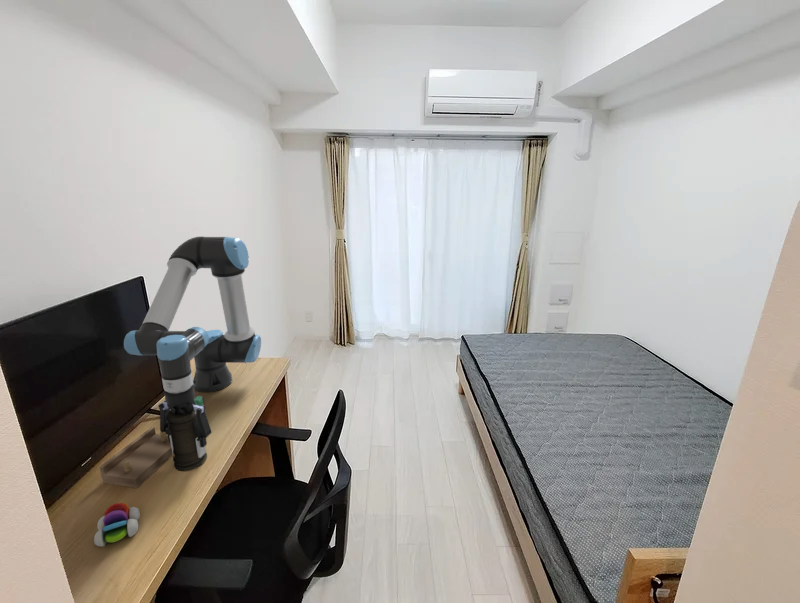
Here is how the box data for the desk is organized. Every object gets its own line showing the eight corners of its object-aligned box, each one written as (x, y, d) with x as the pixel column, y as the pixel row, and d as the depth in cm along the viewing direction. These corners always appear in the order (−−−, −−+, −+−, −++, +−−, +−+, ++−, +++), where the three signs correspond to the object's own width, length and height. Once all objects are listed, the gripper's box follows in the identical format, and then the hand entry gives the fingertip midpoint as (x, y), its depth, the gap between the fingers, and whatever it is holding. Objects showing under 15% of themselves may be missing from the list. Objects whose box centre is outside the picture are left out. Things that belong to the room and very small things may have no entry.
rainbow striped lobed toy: (141, 511, 100) (136, 489, 98) (137, 540, 92) (132, 517, 90) (101, 523, 96) (96, 501, 94) (94, 555, 88) (87, 531, 86)
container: (213, 455, 121) (206, 406, 116) (191, 474, 113) (182, 422, 108) (190, 449, 124) (182, 401, 118) (167, 468, 115) (157, 416, 110)
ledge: (154, 440, 127) (151, 425, 125) (183, 445, 126) (181, 429, 124) (103, 482, 109) (98, 465, 107) (136, 488, 108) (133, 470, 106)
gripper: (136, 390, 109) (149, 456, 115) (203, 398, 106) (212, 465, 112) (156, 377, 116) (168, 440, 122) (219, 384, 113) (227, 449, 119)
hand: (189, 452), depth 117 cm, fingers closed on container, 8 cm apart
